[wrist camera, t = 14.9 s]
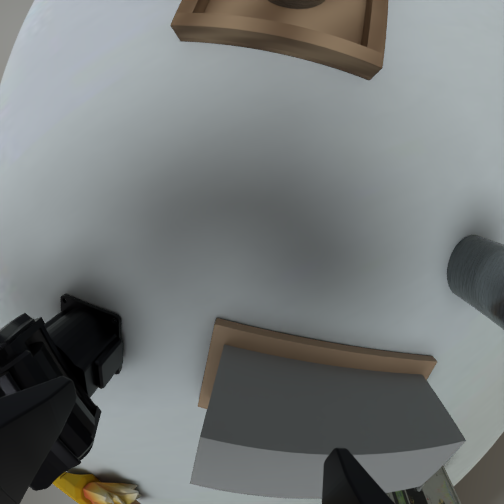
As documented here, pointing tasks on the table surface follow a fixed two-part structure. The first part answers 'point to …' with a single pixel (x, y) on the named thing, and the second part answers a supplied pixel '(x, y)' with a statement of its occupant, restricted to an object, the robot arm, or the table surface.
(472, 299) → the cylinder
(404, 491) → the geiger counter
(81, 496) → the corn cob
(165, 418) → the table surface
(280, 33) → the tray
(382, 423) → the block
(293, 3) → the cylinder
